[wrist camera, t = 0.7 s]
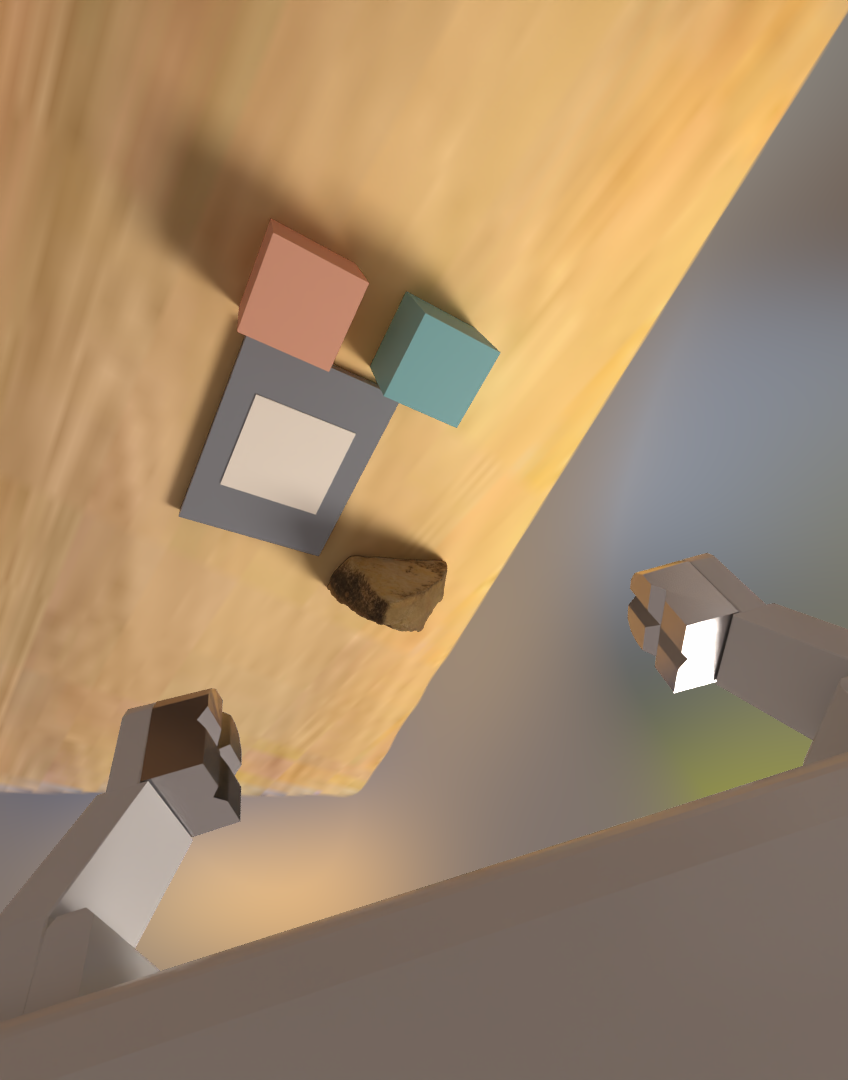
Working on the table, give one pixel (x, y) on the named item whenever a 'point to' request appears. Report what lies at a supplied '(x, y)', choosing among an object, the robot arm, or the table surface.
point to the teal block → (432, 361)
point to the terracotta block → (300, 297)
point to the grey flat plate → (285, 449)
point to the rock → (390, 589)
